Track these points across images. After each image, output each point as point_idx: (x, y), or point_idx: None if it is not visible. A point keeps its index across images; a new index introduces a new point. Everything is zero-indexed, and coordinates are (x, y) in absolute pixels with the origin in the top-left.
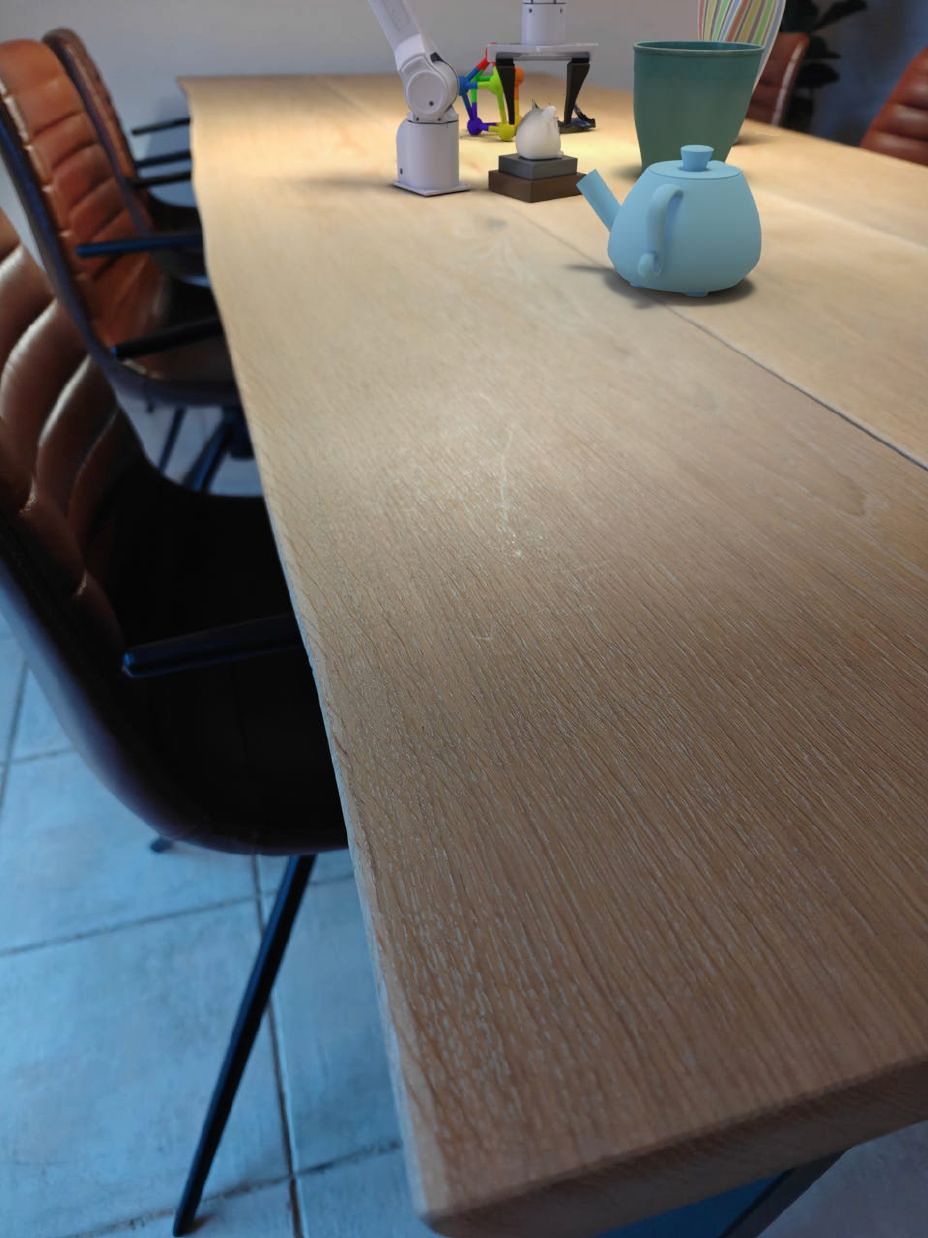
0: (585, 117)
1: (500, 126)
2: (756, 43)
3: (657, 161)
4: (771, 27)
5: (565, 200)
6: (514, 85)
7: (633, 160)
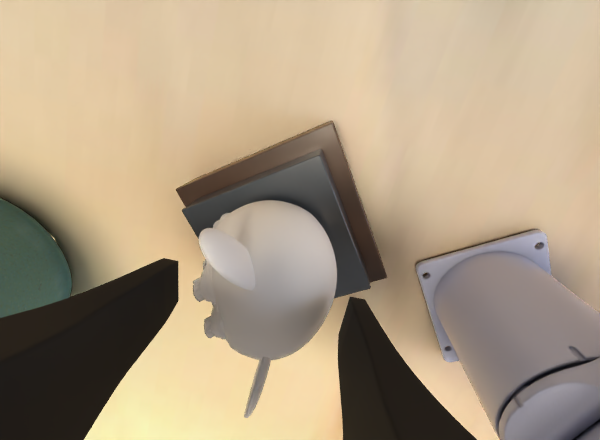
0: None
1: None
2: None
3: (13, 241)
4: None
5: (248, 126)
6: (385, 395)
7: None
